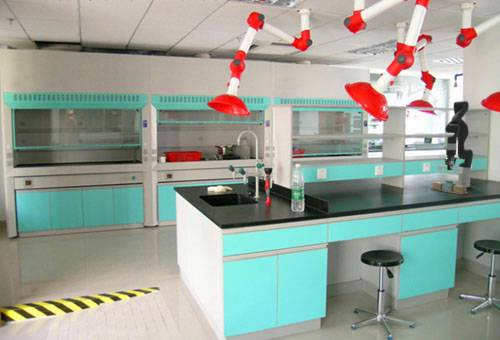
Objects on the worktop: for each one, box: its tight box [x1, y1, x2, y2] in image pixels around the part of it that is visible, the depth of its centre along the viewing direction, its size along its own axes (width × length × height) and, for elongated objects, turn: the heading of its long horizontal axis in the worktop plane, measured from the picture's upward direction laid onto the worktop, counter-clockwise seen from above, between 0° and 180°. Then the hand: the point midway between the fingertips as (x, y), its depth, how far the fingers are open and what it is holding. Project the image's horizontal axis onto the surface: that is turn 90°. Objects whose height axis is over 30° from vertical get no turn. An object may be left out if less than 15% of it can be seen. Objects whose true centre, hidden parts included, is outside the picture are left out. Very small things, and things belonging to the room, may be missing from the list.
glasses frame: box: [437, 164, 463, 175], centre depth 348 cm, size 3×20×5 cm, turn 33°
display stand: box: [430, 179, 468, 195], centre depth 350 cm, size 8×27×9 cm, turn 33°
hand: (449, 170), depth 348 cm, fingers closed on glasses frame, 3 cm apart
